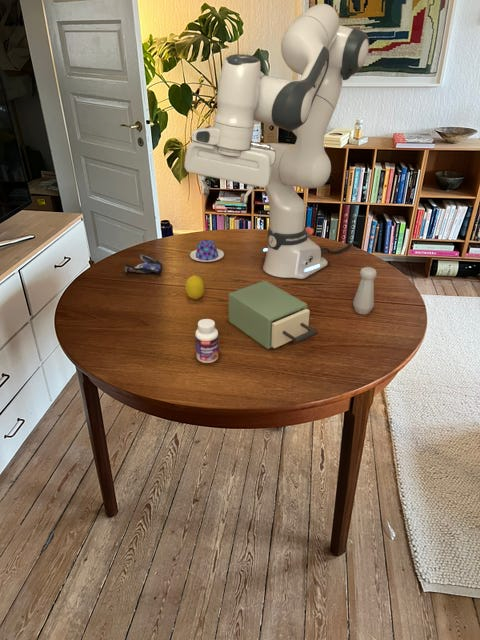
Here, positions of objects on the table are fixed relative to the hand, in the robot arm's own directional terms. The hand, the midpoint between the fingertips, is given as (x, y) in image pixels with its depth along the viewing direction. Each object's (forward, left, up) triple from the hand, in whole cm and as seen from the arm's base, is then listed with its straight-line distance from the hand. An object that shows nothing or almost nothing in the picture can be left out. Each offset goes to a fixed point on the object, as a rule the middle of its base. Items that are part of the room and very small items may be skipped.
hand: (224, 198), depth 111 cm
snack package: (+4, -40, -34) cm, 52 cm away
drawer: (-6, +15, -32) cm, 36 cm away
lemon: (+1, -14, -34) cm, 36 cm away
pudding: (-19, -38, -34) cm, 54 cm away
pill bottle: (+14, +12, -34) cm, 39 cm away
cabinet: (-6, +10, -33) cm, 35 cm away
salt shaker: (-33, +20, -34) cm, 51 cm away
